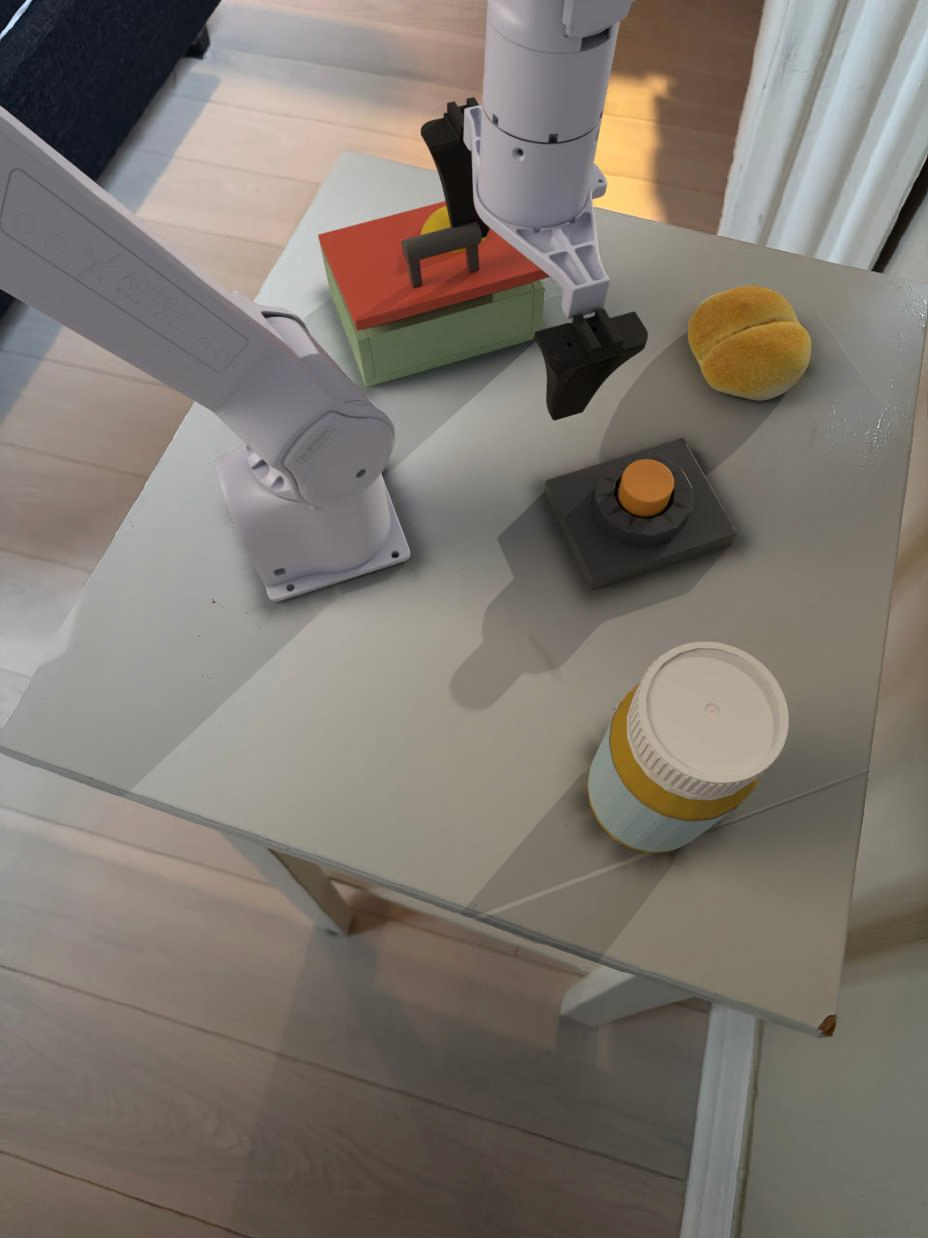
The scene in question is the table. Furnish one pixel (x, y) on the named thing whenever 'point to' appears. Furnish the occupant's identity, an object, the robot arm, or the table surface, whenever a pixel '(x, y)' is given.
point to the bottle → (686, 746)
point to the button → (645, 487)
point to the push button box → (637, 517)
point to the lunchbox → (441, 331)
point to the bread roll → (749, 343)
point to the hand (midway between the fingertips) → (517, 322)
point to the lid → (418, 266)
